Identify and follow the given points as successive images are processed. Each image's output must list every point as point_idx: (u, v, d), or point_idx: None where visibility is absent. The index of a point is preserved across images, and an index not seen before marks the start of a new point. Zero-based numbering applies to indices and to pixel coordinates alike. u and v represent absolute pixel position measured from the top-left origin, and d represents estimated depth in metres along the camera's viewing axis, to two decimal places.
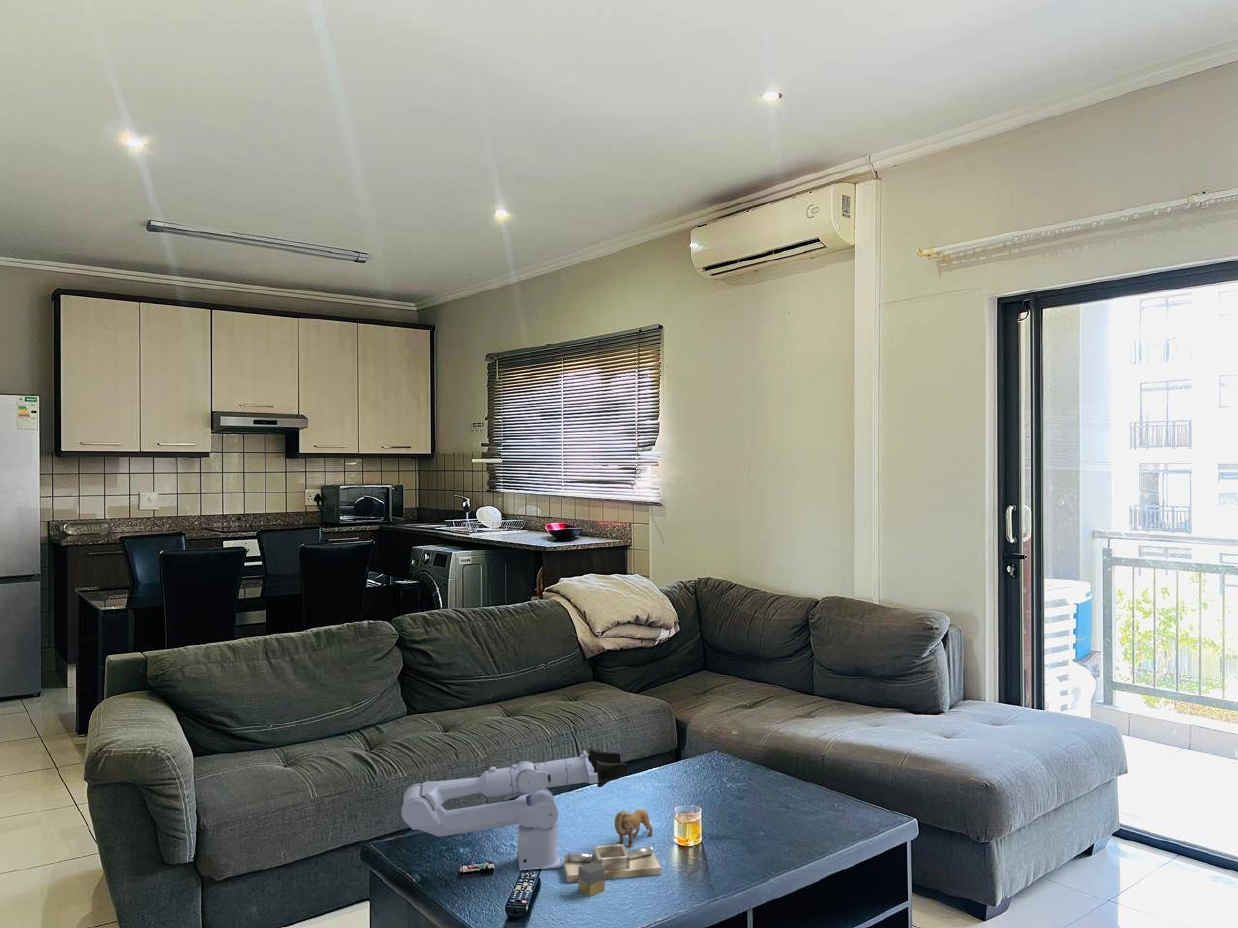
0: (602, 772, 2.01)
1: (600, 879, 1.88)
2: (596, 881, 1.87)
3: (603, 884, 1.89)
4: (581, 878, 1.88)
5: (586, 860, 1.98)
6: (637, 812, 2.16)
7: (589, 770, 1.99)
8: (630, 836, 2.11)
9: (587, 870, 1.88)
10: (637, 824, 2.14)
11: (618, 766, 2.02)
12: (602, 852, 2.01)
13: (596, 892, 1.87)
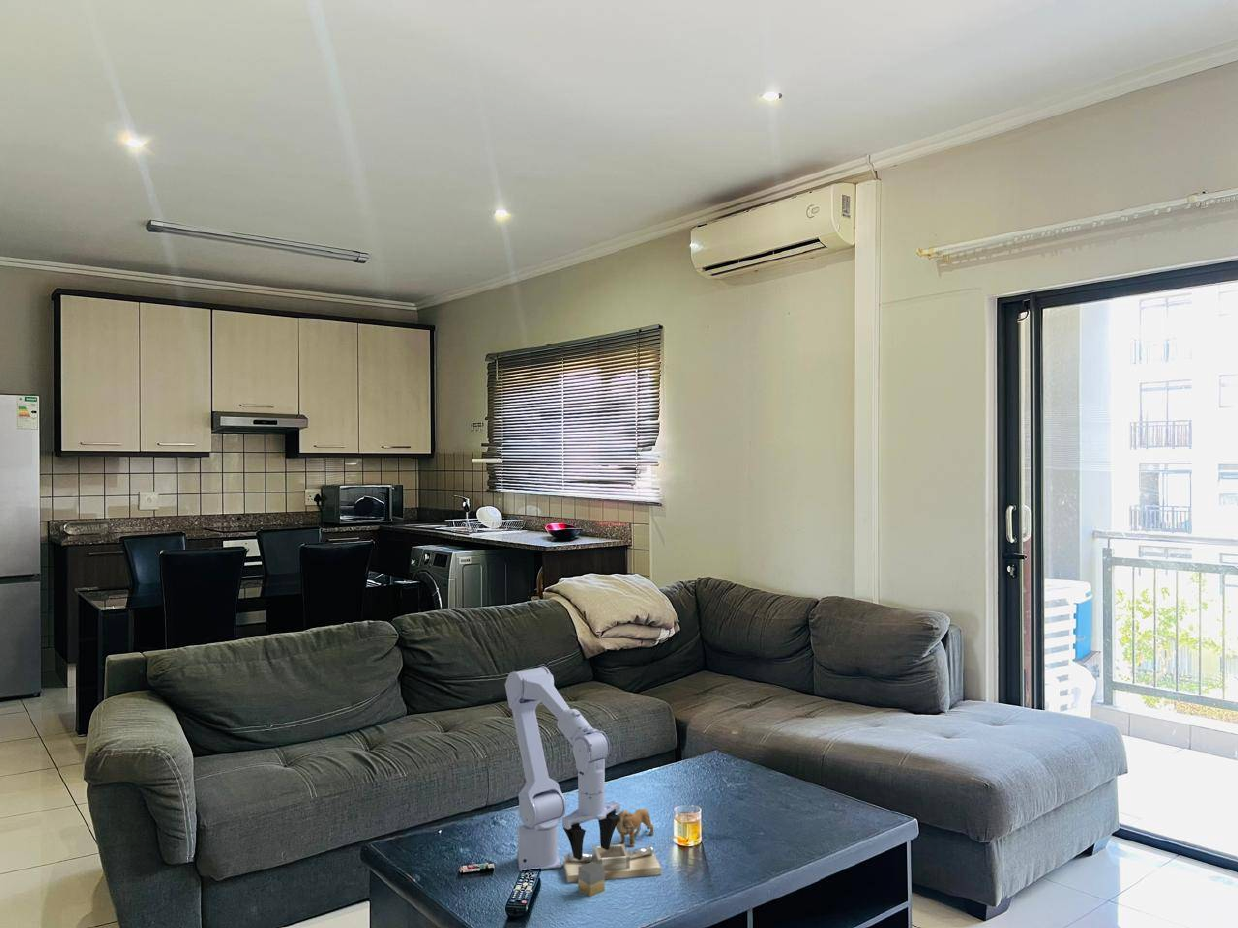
0: None
1: (600, 879, 1.88)
2: (596, 881, 1.87)
3: (603, 884, 1.89)
4: (581, 878, 1.88)
5: (586, 860, 1.98)
6: (638, 811, 2.16)
7: (575, 820, 1.85)
8: (631, 835, 2.11)
9: (587, 870, 1.88)
10: (638, 823, 2.14)
11: (578, 851, 1.86)
12: (602, 852, 2.01)
13: (596, 892, 1.87)
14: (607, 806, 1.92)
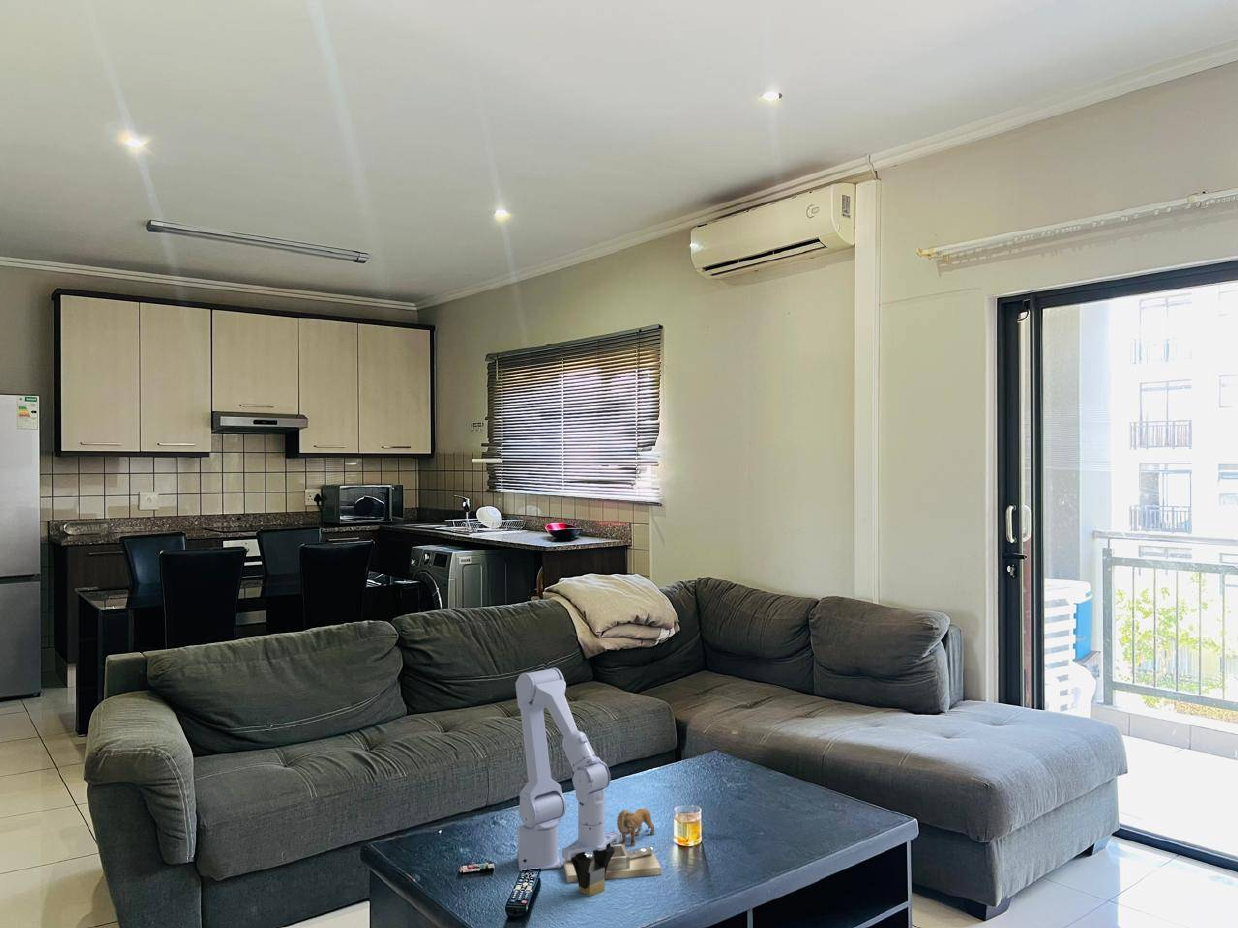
0: None
1: (600, 879, 1.88)
2: (596, 881, 1.87)
3: (603, 884, 1.89)
4: None
5: None
6: (639, 811, 2.16)
7: (575, 851, 1.85)
8: (632, 835, 2.12)
9: None
10: (639, 823, 2.14)
11: (583, 879, 1.86)
12: None
13: (596, 892, 1.87)
14: (607, 836, 1.92)
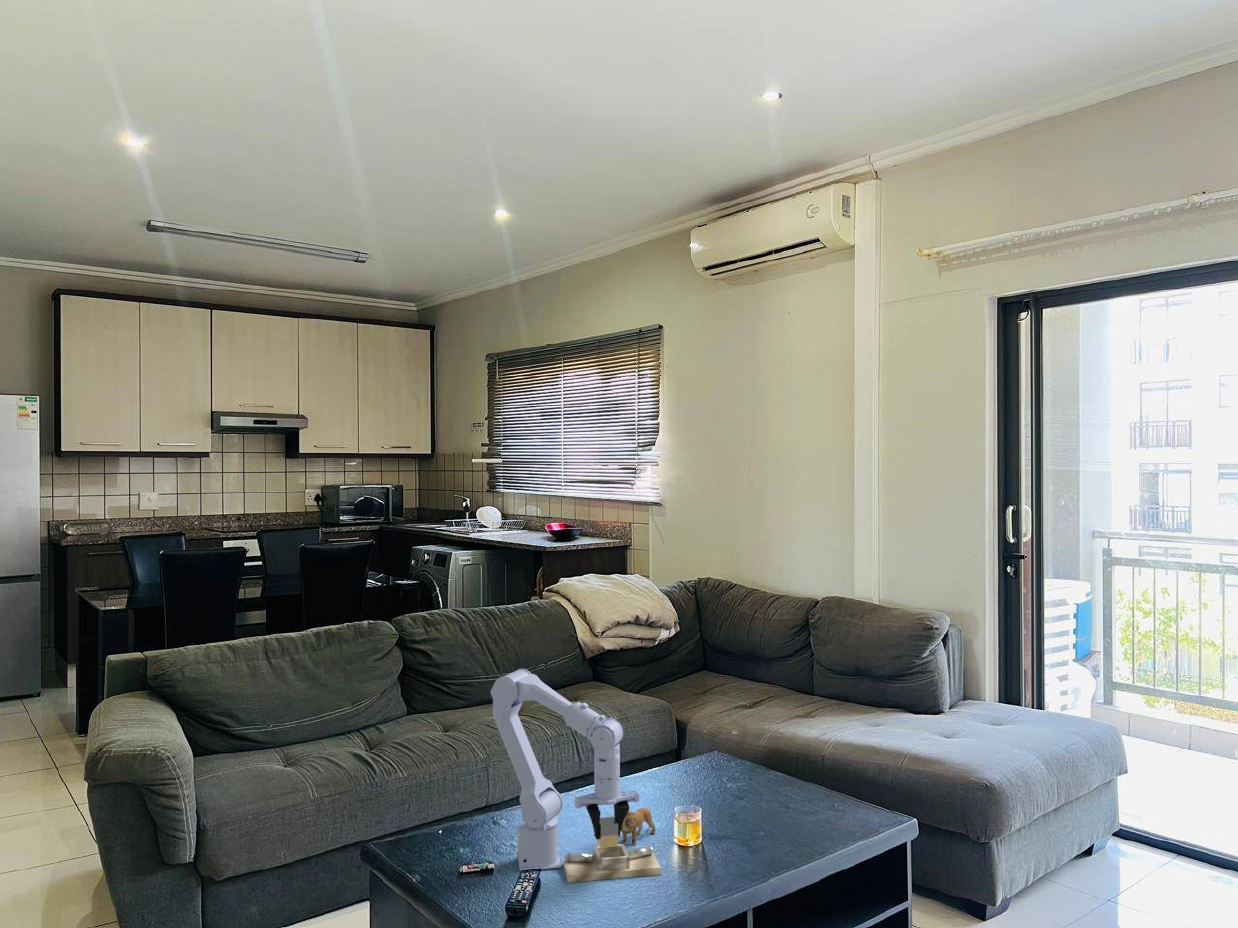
0: None
1: (613, 833, 1.95)
2: (608, 834, 1.95)
3: (616, 839, 1.95)
4: None
5: (586, 860, 1.98)
6: (640, 810, 2.17)
7: (585, 801, 1.94)
8: (634, 834, 2.12)
9: (601, 822, 1.96)
10: (640, 822, 2.15)
11: (595, 830, 1.95)
12: (602, 852, 2.01)
13: (608, 845, 1.95)
14: (625, 794, 1.98)
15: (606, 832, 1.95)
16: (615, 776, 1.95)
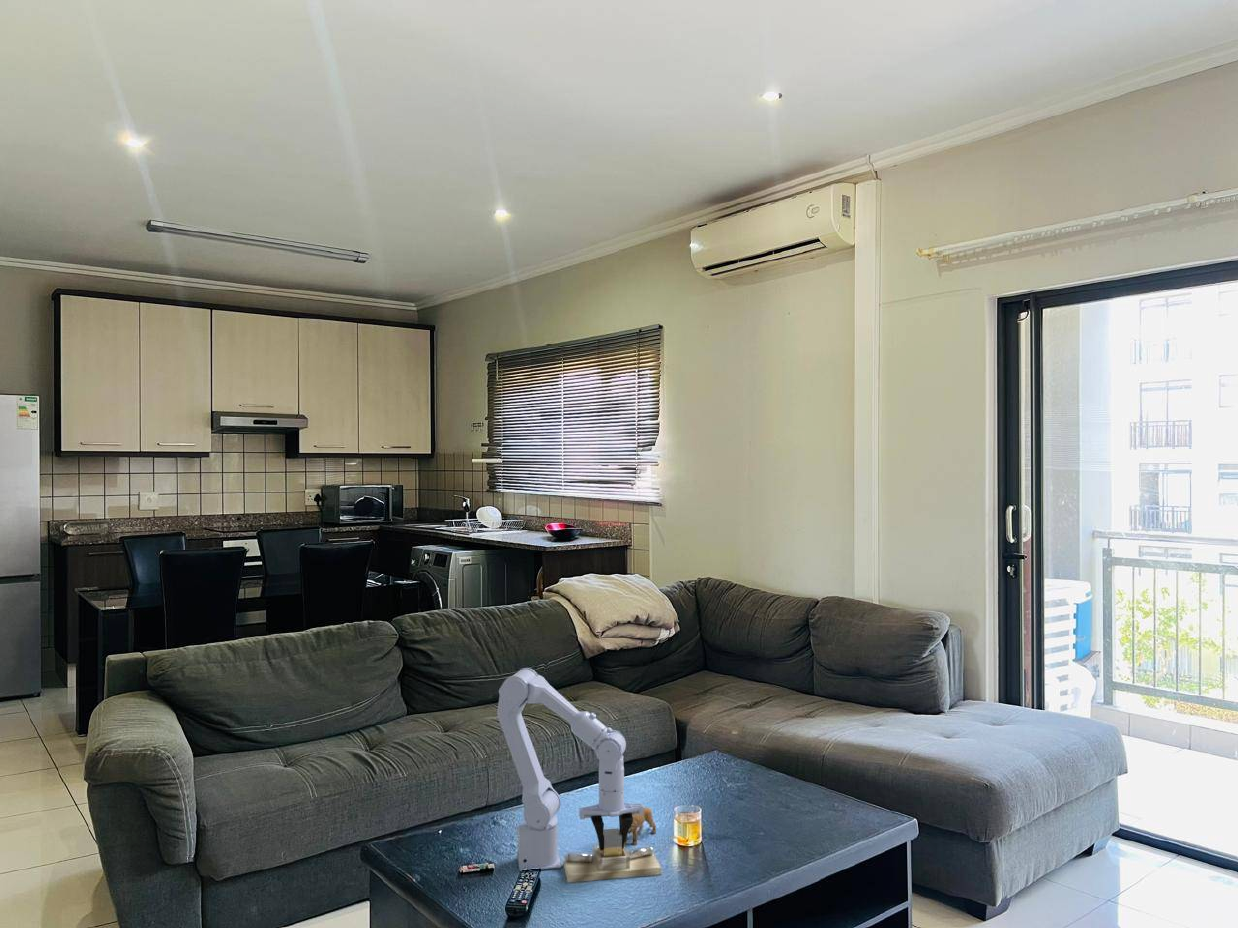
0: None
1: (616, 845, 1.97)
2: (612, 846, 1.97)
3: (620, 851, 1.97)
4: None
5: (586, 860, 1.98)
6: None
7: (589, 812, 1.97)
8: (634, 834, 2.12)
9: (605, 834, 1.98)
10: (641, 822, 2.15)
11: (599, 841, 1.98)
12: None
13: (612, 856, 1.97)
14: (630, 806, 2.00)
15: (610, 843, 1.97)
16: (621, 788, 1.97)
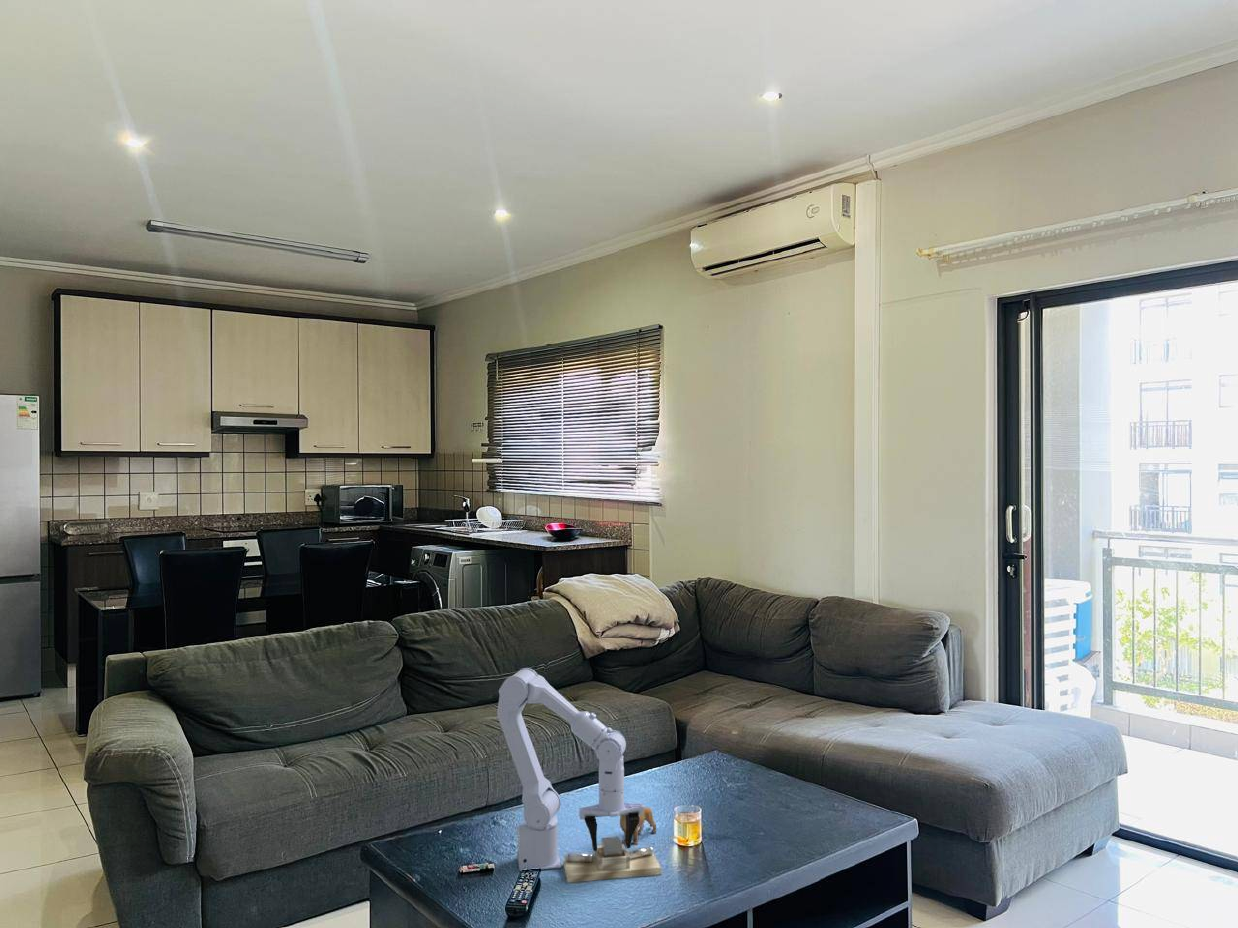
0: None
1: (616, 853, 1.97)
2: (612, 854, 1.97)
3: None
4: (602, 849, 1.99)
5: (586, 860, 1.98)
6: None
7: (589, 812, 1.97)
8: (635, 833, 2.13)
9: (605, 842, 1.98)
10: (641, 821, 2.15)
11: (593, 842, 1.97)
12: None
13: None
14: (630, 806, 2.00)
15: (610, 852, 1.97)
16: (621, 788, 1.97)
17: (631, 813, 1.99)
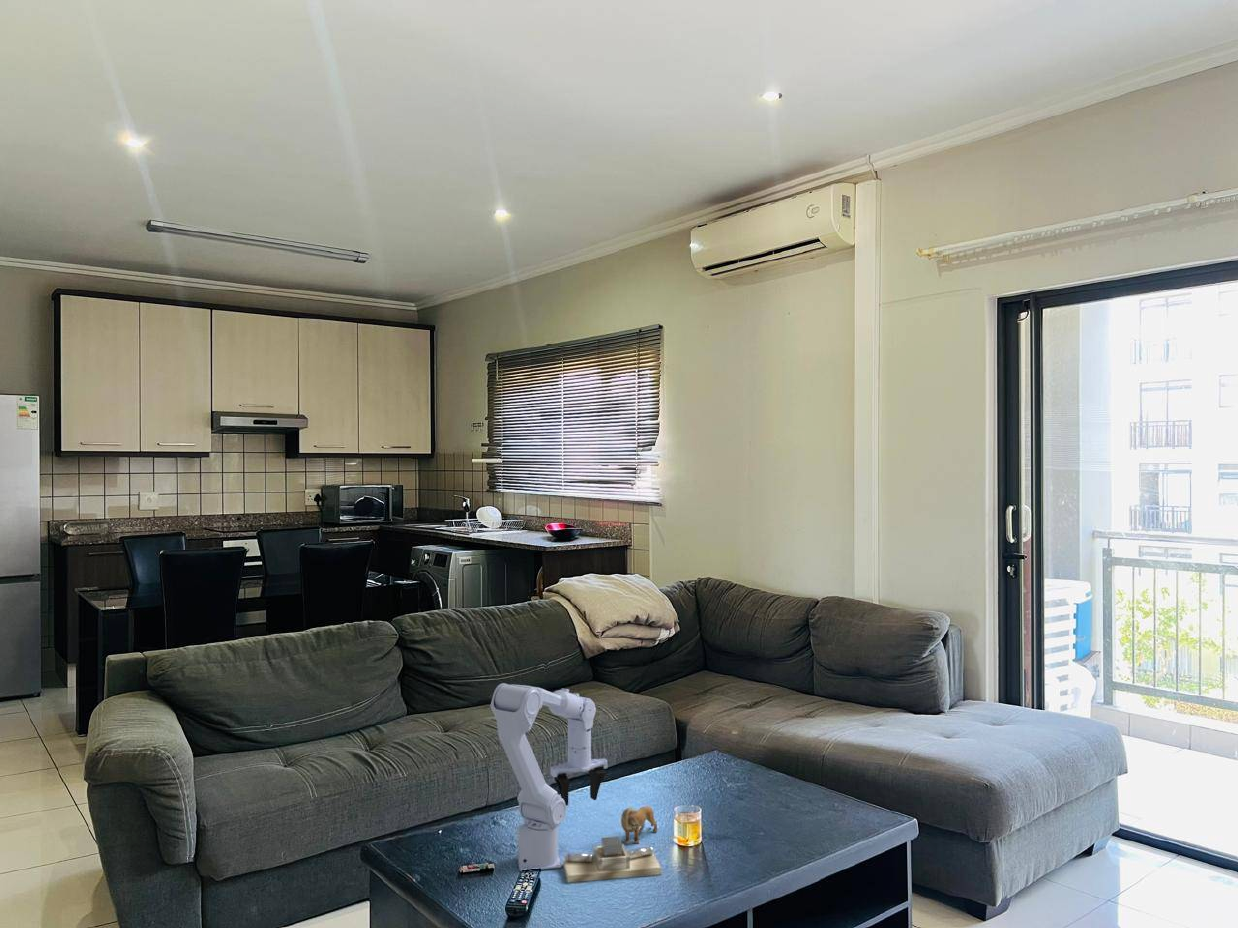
0: None
1: (616, 853, 1.97)
2: (612, 854, 1.97)
3: None
4: (602, 849, 1.99)
5: (586, 860, 1.98)
6: (642, 809, 2.18)
7: (561, 770, 2.12)
8: (636, 833, 2.13)
9: (605, 842, 1.98)
10: (643, 821, 2.16)
11: (564, 797, 2.12)
12: None
13: None
14: (595, 762, 2.17)
15: (610, 852, 1.97)
16: None
17: (597, 768, 2.17)
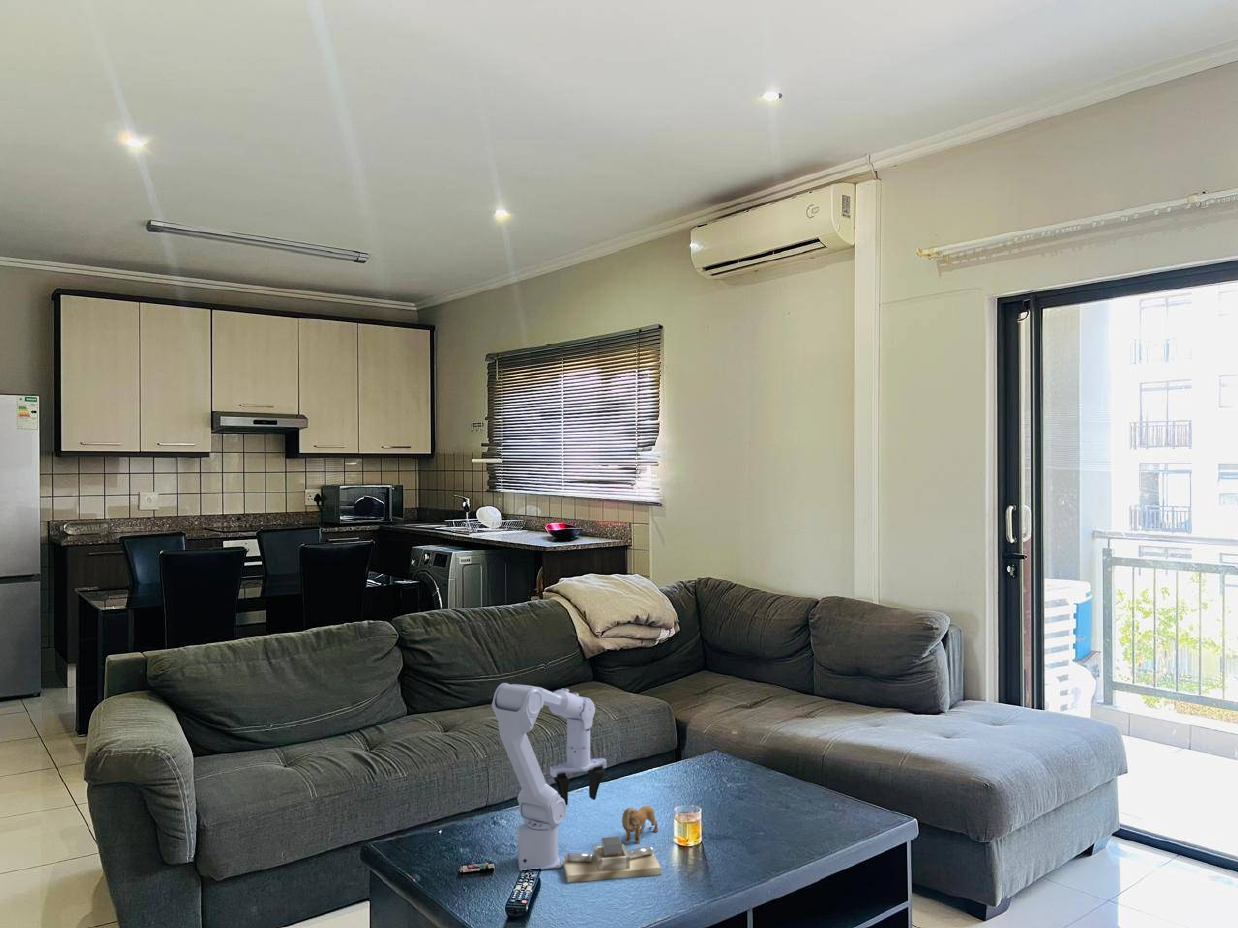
0: None
1: (616, 853, 1.97)
2: (612, 854, 1.97)
3: None
4: (602, 849, 1.99)
5: (586, 860, 1.98)
6: (643, 808, 2.18)
7: (561, 770, 2.12)
8: (637, 832, 2.13)
9: (605, 842, 1.98)
10: (643, 820, 2.16)
11: (564, 797, 2.12)
12: None
13: None
14: (594, 761, 2.17)
15: (610, 852, 1.97)
16: None
17: (596, 767, 2.17)
